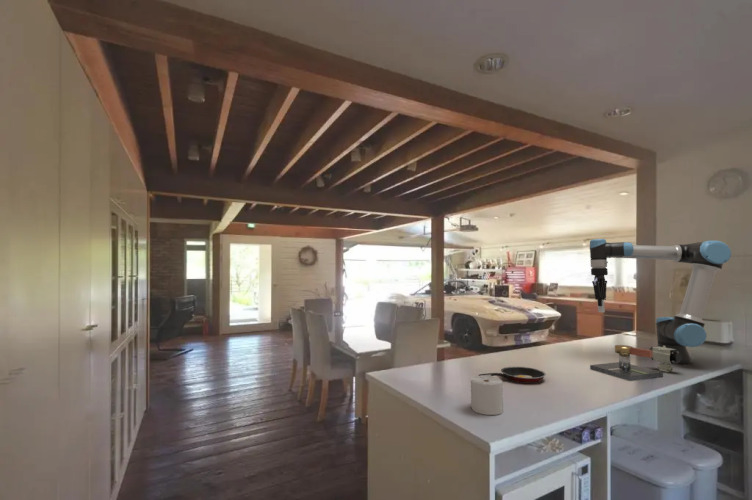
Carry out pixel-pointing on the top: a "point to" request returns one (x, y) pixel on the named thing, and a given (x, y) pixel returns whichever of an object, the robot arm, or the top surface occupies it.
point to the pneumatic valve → (665, 357)
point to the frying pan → (520, 374)
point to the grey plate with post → (626, 369)
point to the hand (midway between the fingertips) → (601, 312)
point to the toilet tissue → (486, 395)
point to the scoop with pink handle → (633, 351)
